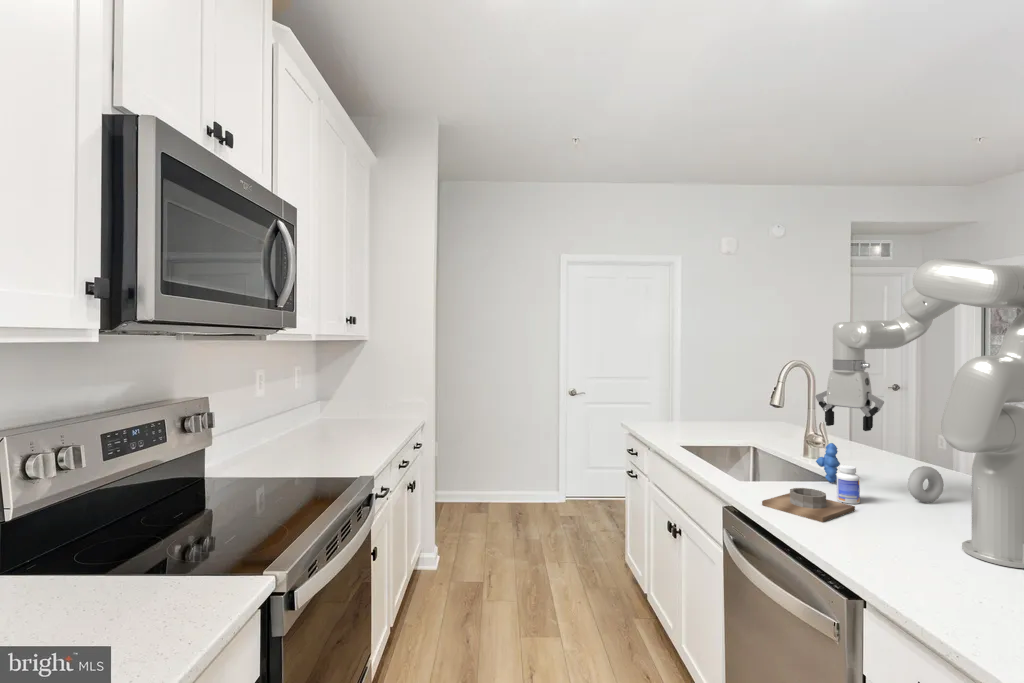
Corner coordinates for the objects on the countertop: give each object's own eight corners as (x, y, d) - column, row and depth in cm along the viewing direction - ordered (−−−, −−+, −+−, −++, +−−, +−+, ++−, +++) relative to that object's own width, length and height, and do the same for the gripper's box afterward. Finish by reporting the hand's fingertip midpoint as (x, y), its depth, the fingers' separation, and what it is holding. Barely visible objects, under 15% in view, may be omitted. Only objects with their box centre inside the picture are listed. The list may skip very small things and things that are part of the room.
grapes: (816, 475, 175) (816, 439, 175) (840, 478, 171) (840, 441, 171) (814, 483, 165) (814, 445, 165) (840, 487, 161) (840, 447, 161)
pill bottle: (863, 505, 144) (863, 469, 144) (841, 504, 145) (841, 468, 145) (853, 499, 150) (853, 464, 149) (833, 498, 150) (833, 464, 150)
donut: (935, 499, 149) (935, 464, 149) (947, 503, 145) (947, 466, 145) (904, 501, 147) (904, 465, 147) (915, 505, 144) (915, 468, 144)
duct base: (854, 510, 139) (854, 494, 139) (822, 522, 131) (822, 505, 131) (794, 495, 153) (794, 481, 153) (762, 505, 144) (762, 489, 144)
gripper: (890, 367, 142) (889, 431, 142) (823, 364, 156) (823, 422, 157) (876, 368, 138) (876, 434, 138) (809, 365, 152) (809, 424, 153)
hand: (848, 427), depth 147 cm, fingers open, 9 cm apart
